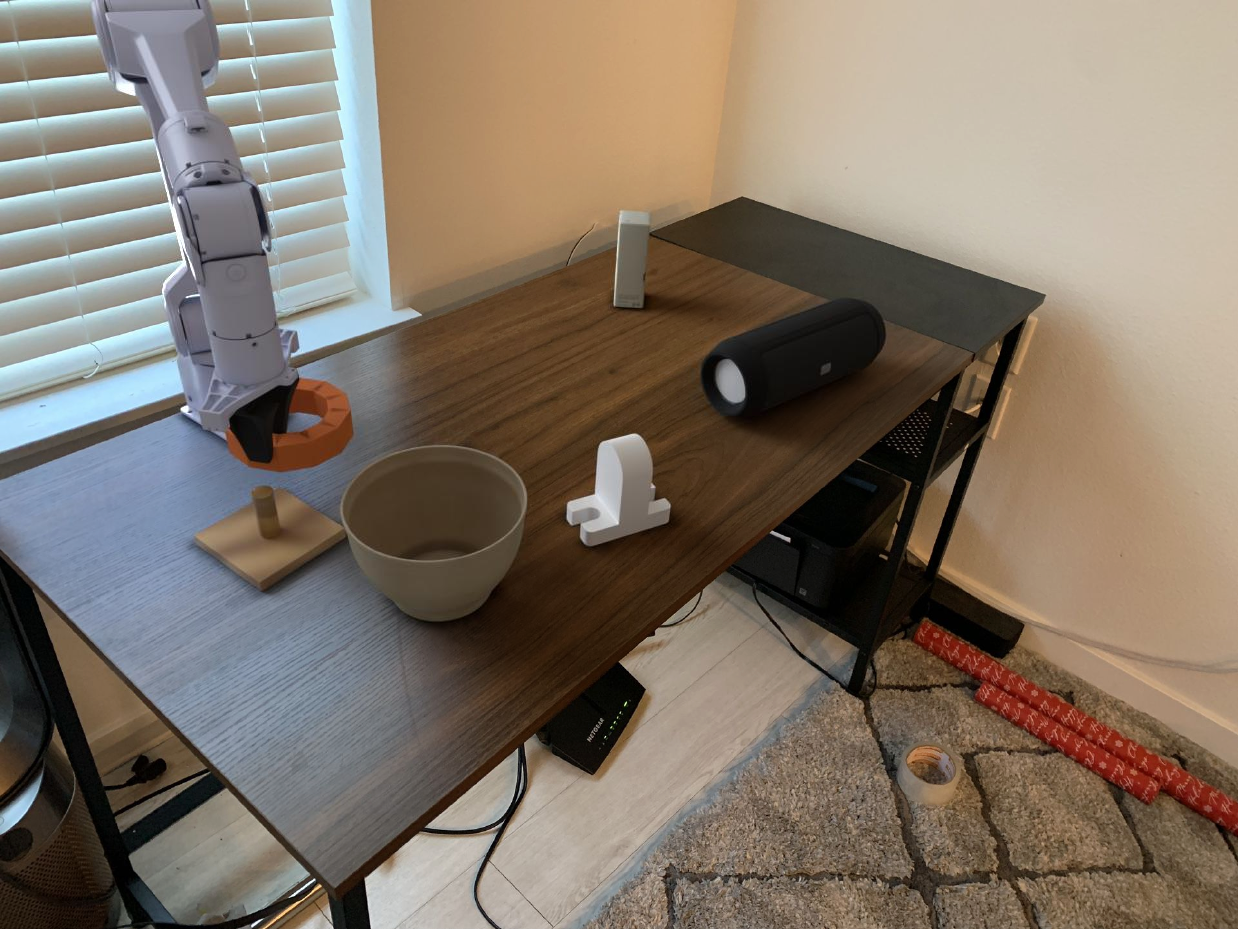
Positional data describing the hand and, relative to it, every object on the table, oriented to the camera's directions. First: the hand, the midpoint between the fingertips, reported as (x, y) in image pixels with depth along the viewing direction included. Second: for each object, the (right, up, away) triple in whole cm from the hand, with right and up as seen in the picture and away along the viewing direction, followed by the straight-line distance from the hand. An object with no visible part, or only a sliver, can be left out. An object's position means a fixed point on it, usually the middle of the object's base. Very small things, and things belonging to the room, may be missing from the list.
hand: (267, 451), depth 88 cm
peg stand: (-1, -9, +4) cm, 10 cm away
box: (+34, +23, +50) cm, 65 cm away
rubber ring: (+1, +2, +5) cm, 5 cm away
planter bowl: (+16, -13, +1) cm, 21 cm away
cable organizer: (+33, -7, +11) cm, 35 cm away
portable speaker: (+55, +8, +34) cm, 65 cm away
